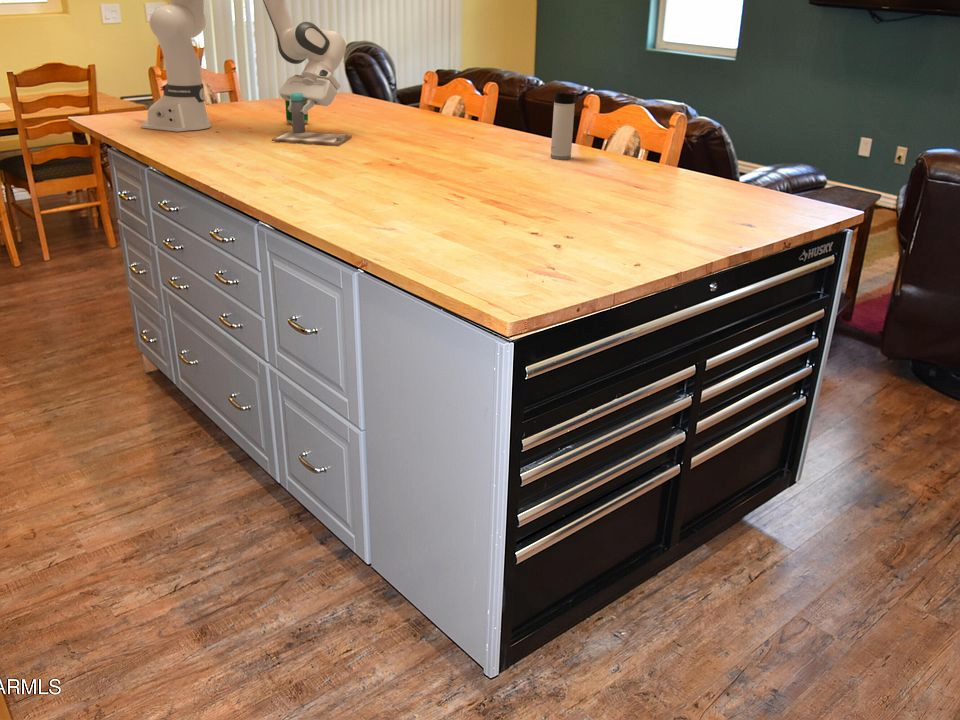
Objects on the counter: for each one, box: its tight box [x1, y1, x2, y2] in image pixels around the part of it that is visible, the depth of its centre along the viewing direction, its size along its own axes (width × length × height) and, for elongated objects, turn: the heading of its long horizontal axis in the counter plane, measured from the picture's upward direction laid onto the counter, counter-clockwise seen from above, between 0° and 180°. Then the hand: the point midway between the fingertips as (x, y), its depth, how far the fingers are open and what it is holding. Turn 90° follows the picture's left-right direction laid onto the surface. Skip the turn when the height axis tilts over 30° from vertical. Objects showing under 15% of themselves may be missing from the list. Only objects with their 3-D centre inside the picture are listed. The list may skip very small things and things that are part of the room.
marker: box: [290, 93, 306, 133], centre depth 288 cm, size 4×4×12 cm
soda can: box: [284, 100, 309, 125], centre depth 315 cm, size 8×8×12 cm
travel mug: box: [550, 91, 576, 161], centre depth 275 cm, size 6×7×20 cm
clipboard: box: [271, 130, 352, 147], centre depth 292 cm, size 22×15×2 cm
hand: (296, 112), depth 287 cm, fingers closed on marker, 4 cm apart
